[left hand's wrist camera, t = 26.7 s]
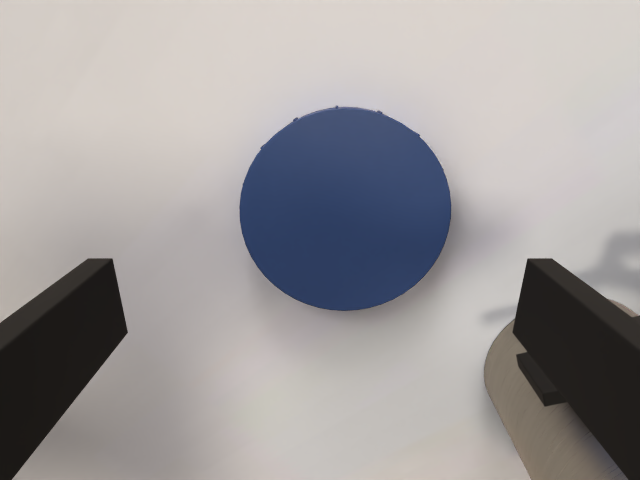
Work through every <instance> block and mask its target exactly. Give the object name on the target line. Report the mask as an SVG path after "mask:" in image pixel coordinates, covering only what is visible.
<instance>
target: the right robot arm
mask: <svg viewBox="0 0 640 480" xmlns="http://www.w3.org/2000/svg"><path fill="white" fill-rule="evenodd" d="M632 318H634V319H635V320H636V321H638V322H639V323H640V316H635V317H632ZM516 358H517V363H518V367H519V369H520V370H521V372H522V373H523V375H524V376H525V378H526V379H527V381H528V382H529V384H530V385H531V387H532V388H533V390H534V391H535V393H536V394H537V396H538V397H539V399H540V400H541V402H542V403H543V405H544V406H545V407H546V406H551V405H556V404H561V403H565V402H567V401H566V400H565V399H564V398H563V396H562V395H561V394H560V392H559V391H558V390H557V389H556V387H555V386H554V385H553V384H552V382H551V381H550V380H549V379H548V377H547V376H546V375H545V373H544V372H543V371H542V370H541V368H540V367H539V366H538V365H537V363H536V362H535V361H534V360H533V358H532V357H531V356H530V354H529V353H528V352H525V353H520V354H516Z"/></svg>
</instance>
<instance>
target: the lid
mask: <svg viewBox="0 0 640 480" xmlns="http://www.w3.org/2000/svg"><path fill="white" fill-rule="evenodd" d="M419 136H420V135H419V134H418V133H416V132H413V131H412V130H411V129H409V128H408V127H406V126H405V125H403V124H402V123H400V122H398V121H396V120H394V119H392V118H390V117H388V116H386V115H384V114H382V112H381V111H378V112H375V111H372V110H368V109H362V108H355V107H338V106H336V108H328V109H324V110H320V111H316V112H313V113H310V114H308V115H305V116H303V117H301V118H299V119H298V118H295V119H294V120H293V122H292V123H290V124H289V125H287V126H286V127H285V128H283V129H282V130H281V131H279V132H278V133H277V134H275V135H274V136H273V137H272V138H271V139H270V140H269V141H268V142H267V143H266V144H264V145H263V146H262V147H261V150H260V152H259V153H258V154H257V156H256V157H255V159H254V161H253V162H252V164H251V166H250V168H249V170H248V173H247V175H246V178H245V180H244V183H243V188H242V192H241V199H240V223H241V229H242V234H243V237H244V240H245V244H246V246H247V248H248V251H249V253H250V255H251V257H252V259H253V260H254V262H255V263H256V265H257V267H258V268H259V269H260V270H261V272H262V273H263V274H264V275H265V277H266V278H267V279H268V280H269V281H271V282H272V283H273V284H274V285H275V286H276V287H277V288H279V289H280V290H281V291H283V292H284V293H286V294H287V295H289V296H291V297H292V298H294V299H296V300H298V301H301V302H303V303H305V304H308V305H311V306H315V307H318V308H323V309H329V310H341V311H347V310H359V309H365V308H370V307H374V306H377V305H381V304H383V303H386V302H388V301H390V300H393V299H394V298H396V297H398V296H400V295H402V294H403V293H405V292H406V291H408V290H409V289H410V288H412V287H413V286H414V285H415V284H416V283H418V282H419V281H420V280H421V279H422V278H423V277H424V276H425V274H426V273H427V272H428V271H429V270H430V268H431V267H432V266H433V264H434V263H435V261H436V260H437V258H438V256H439V254H440V252H441V250H442V248H443V246H444V244H445V240H446V237H447V234H448V231H449V225H450V219H451V200H450V191H449V187H448V183H447V179H446V176H445V174H444V171H443V168H442V167H441V164H440V163H439V161H438V159H437V158H436V156H435V154H434V153H433V152H432V150H431V149H430V148H429V147H428V145H427V144H426V143H425V142H424V141H423V140H422V139H421V138H420V137H419Z"/></svg>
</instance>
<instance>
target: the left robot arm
mask: <svg viewBox="0 0 640 480" xmlns="http://www.w3.org/2000/svg"><path fill="white" fill-rule="evenodd" d="M127 333H128V331H127V327H126V322H125V317H124V312H123V307H122V302H121V298H120V293H119V288H118V283H117V278H116V273H115V269H114V264H113V259H87V260H86V261H84V262H83V263H81V264H80V265H79V266H77V267H76V268H75V269H73V270H72V271H71V272H69V273H68V274H66V275H65V276H64V277H62V278H61V279H60V280H58V281H57V282H55V283H54V284H53V285H51V286H50V287H49V288H47V289H46V290H45V291H43V292H42V293H40V294H39V295H38V296H36V297H35V298H34V299H32V300H31V301H30V302H28V303H27V304H25V305H24V306H23V307H21V308H20V309H19V310H17V311H16V312H14V313H13V314H12V315H10V316H9V317H8V318H6V319H5V320H4V321H2V322H1V323H0V480H12V479H13V477H14V476H15V475H16V474H17V472H18V471H19V470H20V468H21V467H22V466H23V465H24V463H25V462H26V461H27V460H28V458H29V457H30V456H31V455H32V453H33V452H34V451H35V449H36V448H37V447H38V446H39V444H40V443H41V442H42V441H43V439H44V438H45V437H46V436H47V434H48V433H49V432H50V430H51V429H52V428H53V427H54V425H55V424H56V423H57V422H58V420H59V419H60V418H61V417H62V415H63V414H64V413H65V411H66V410H67V409H68V408H69V406H70V405H71V404H72V403H73V401H74V400H75V399H76V398H77V396H78V395H79V394H80V392H81V391H82V390H83V389H84V387H85V386H86V385H87V384H88V382H89V381H90V380H91V379H92V377H93V376H94V375H95V373H96V372H97V371H98V370H99V368H100V367H101V366H102V365H103V363H104V362H105V361H106V360H107V358H108V357H109V356H110V354H111V353H112V352H113V351H114V349H115V348H116V347H117V346H118V344H119V343H120V342H121V340H122V339H123V338H124V337H125V335H126V334H127ZM512 333H513V334H514V335H515V337H516V338H517V339H518V340H519V342H520V343H521V344H522V346H523V347H524V348H525V349H526V351H527V352H528V353H529V354H530V356H531V357H532V358H533V360H534V361H535V362H536V363H537V365H538V366H539V367H540V368H541V370H542V371H543V372H544V373H545V375H546V376H547V377H548V379H549V380H550V381H551V382H552V384H553V385H554V386H555V387H556V389H557V390H558V391H559V392H560V394H561V395H562V396H563V398H564V399H565V400H566V401H567V403H568V404H569V405H570V406H571V408H572V409H573V410H574V411H575V413H576V414H577V415H578V417H579V418H580V419H581V420H582V422H583V423H584V424H585V425H586V427H587V428H588V429H589V430H590V432H591V433H592V434H593V436H594V437H595V438H596V439H597V441H598V442H599V443H600V444H601V446H602V447H603V448H604V449H605V451H606V452H607V453H608V455H609V456H610V457H611V458H612V460H613V461H614V462H615V463H616V465H617V466H618V467H619V468H620V470H621V471H622V472H623V474H624V475H625V476H626V477H627V479H628V480H640V323H639V322H638V321H636V320H635V319H634V318H632V317H631V316H630V315H628V314H627V313H626V312H624V311H623V310H621V309H620V308H619V307H617V306H616V305H615V304H613V303H612V302H610V301H609V300H608V299H606V298H605V297H604V296H602V295H601V294H600V293H598V292H597V291H595V290H594V289H593V288H591V287H590V286H589V285H587V284H586V283H585V282H583V281H582V280H580V279H579V278H578V277H576V276H575V275H574V274H572V273H571V272H569V271H568V270H567V269H565V268H564V267H563V266H561V265H560V264H559V263H557V262H556V261H554V260H553V259H527V264H526V269H525V273H524V278H523V283H522V288H521V293H520V298H519V302H518V307H517V312H516V317H515V322H514V327H513V331H512Z"/></svg>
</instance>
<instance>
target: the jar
mask: <svg viewBox="0 0 640 480" xmlns="http://www.w3.org/2000/svg"><path fill="white" fill-rule="evenodd" d="M608 300H609V299H608ZM609 301H610V302H612V303H613V304H615V305H616V306H617V307H619V308H620V309H621V310H623V311H624V312H626V313H627V314H628V315H630V316H631V317H635V316H638V315H637V314H636V313H634V312H633V311H632V310H630V309H628V308H627V307H625V306H624V305H622V304H620V303H617V302H615V301H612V300H609ZM514 322H515V319H514V320H513V321H512V322H511V323H510V324H509V325H507V326H506V327H505V328H504V330H503V331H502V332H501V333H500V334H499V335H498V337H497V338H496V340H495V341H494V342H493V344H492V346H491V348H490V350H489V352H488V355H487V358H486V362H485V367H484V380H485V386H486V389H487V392H488V394H489V396H490V398H491V400H492V402H493V404H494V406H495V408H496V410H497V412H498V414H499V416H500V418H501V420H502V422H503V424H504V426H505V428H506V430H507V432H508V434H509V436H510V438H511V440H512V442H513V444H514V446H515V448H516V450H517V452H518V454H519V456H520V458H521V460H522V462H523V464H524V466H525V468H526V470H527V472H528V474H529V476H530V478H531V480H628V479H627V477H626V476H625V475H624V474H623V472H622V471H621V470H620V468H619V467H618V466H617V465H616V463H615V462H614V461H613V460H612V458H611V457H610V456H609V455H608V453H607V452H606V451H605V449H604V448H603V447H602V446H601V444H600V443H599V442H598V441H597V439H596V438H595V437H594V436H593V434H592V433H591V432H590V430H589V429H588V428H587V427H586V425H585V424H584V423H583V422H582V420H581V419H580V418H579V417H578V415H577V414H576V413H575V411H574V410H573V409H572V408H571V406H570V405H569V404H568V403H567V402H565V403H561V404H556V405H551V406H546V407H545V406H544V405H543V403H542V402H541V400H540V399H539V397H538V396H537V394H536V393H535V391H534V390H533V388H532V387H531V385H530V384H529V382H528V381H527V379H526V378H525V376H524V375H523V373H522V372H521V370H520V369H519V367H518V363H517V358H516V354H520V353H525V352H527V351H526V349H525V348H524V347H523V346H522V344H521V343H520V342H519V340H518V339H517V338H516V337H515V335H514V334H513V333H512V331H513V327H514Z"/></svg>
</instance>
